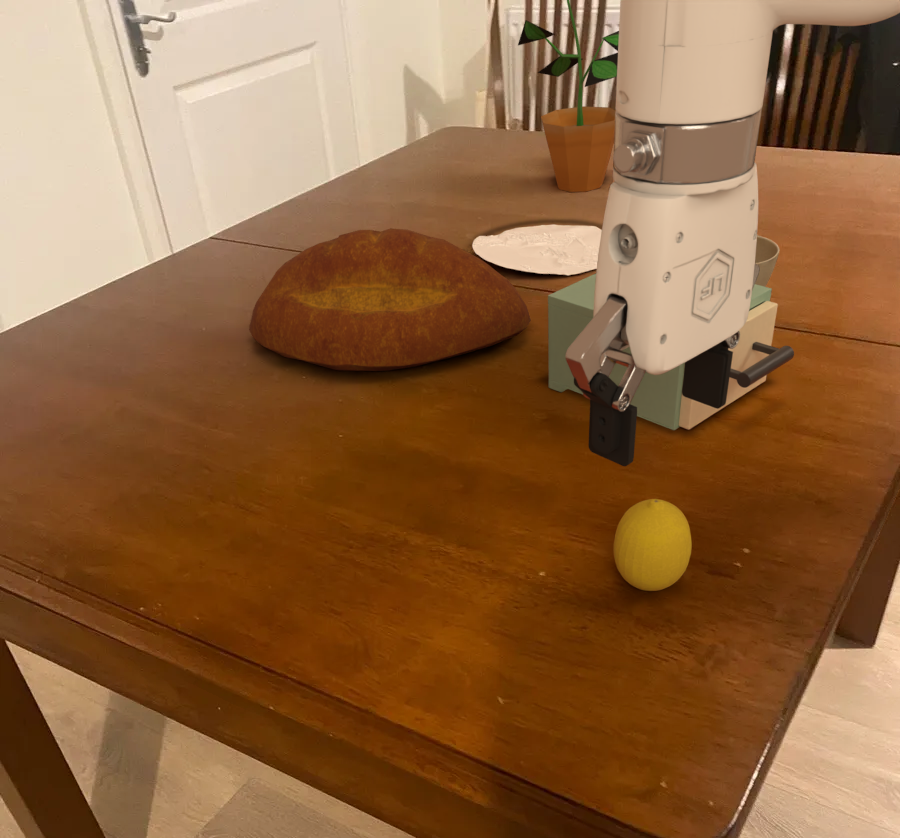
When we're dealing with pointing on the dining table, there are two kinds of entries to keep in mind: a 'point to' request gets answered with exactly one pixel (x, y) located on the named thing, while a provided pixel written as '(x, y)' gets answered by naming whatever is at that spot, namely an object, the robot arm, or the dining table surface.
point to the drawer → (744, 363)
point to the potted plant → (578, 117)
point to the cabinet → (655, 392)
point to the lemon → (652, 545)
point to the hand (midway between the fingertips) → (658, 428)
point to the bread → (385, 303)
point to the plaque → (543, 249)
